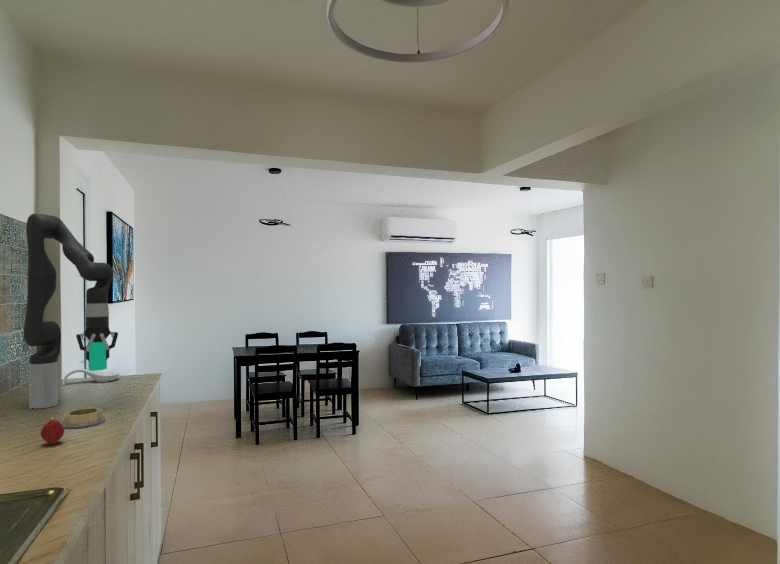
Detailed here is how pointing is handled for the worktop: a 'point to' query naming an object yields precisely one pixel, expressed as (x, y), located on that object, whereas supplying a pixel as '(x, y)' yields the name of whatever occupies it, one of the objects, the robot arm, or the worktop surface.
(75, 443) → the worktop surface
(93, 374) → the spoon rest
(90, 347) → the candle
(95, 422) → the dish
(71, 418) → the collar
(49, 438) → the onion
